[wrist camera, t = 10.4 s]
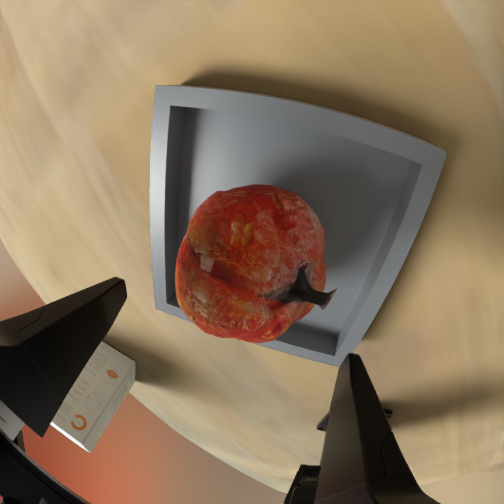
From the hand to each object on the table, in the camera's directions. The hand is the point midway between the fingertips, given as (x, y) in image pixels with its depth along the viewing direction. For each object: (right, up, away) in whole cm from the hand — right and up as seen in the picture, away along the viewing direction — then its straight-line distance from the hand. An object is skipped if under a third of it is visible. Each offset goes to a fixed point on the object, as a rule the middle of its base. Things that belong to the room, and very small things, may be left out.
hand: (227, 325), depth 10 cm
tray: (+2, +4, +7) cm, 8 cm away
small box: (-17, -11, +23) cm, 31 cm away
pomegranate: (+2, +4, +6) cm, 8 cm away
